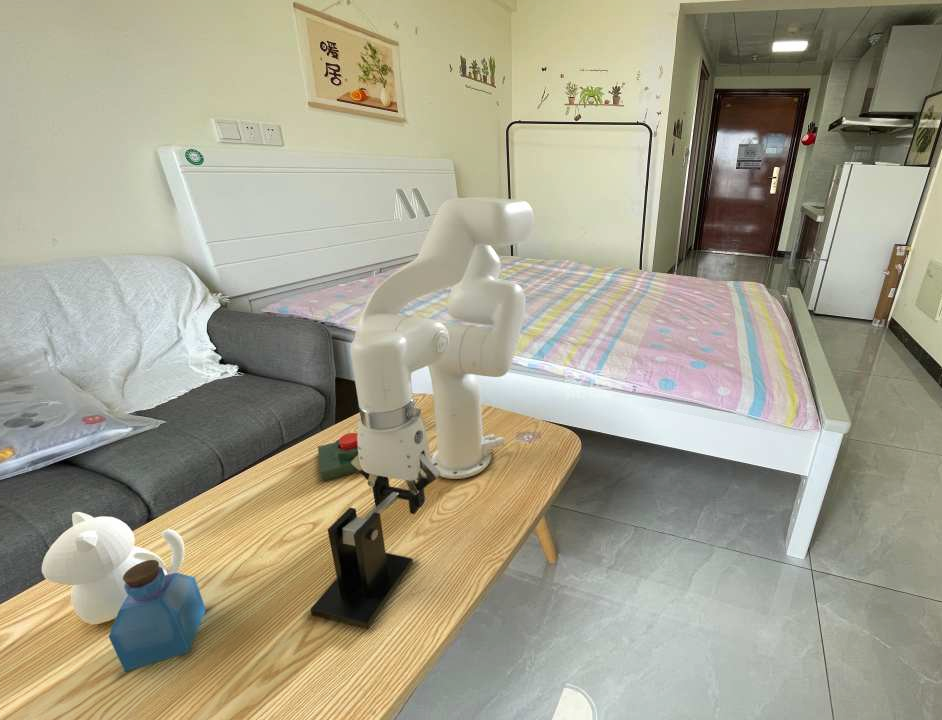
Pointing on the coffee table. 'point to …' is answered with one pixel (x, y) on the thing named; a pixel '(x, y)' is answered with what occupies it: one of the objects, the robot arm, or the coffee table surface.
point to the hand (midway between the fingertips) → (400, 503)
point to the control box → (336, 461)
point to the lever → (357, 522)
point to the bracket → (360, 574)
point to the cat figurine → (101, 563)
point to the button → (348, 441)
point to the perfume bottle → (156, 616)
